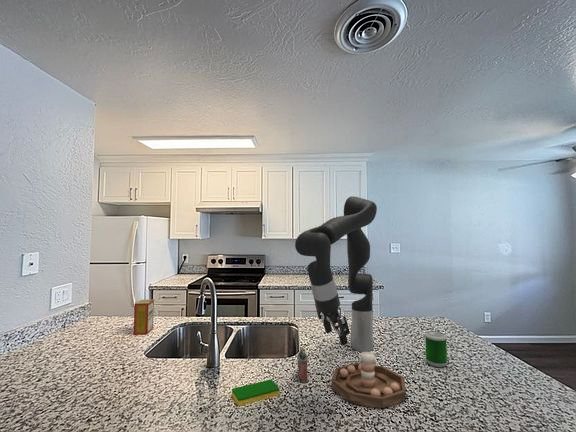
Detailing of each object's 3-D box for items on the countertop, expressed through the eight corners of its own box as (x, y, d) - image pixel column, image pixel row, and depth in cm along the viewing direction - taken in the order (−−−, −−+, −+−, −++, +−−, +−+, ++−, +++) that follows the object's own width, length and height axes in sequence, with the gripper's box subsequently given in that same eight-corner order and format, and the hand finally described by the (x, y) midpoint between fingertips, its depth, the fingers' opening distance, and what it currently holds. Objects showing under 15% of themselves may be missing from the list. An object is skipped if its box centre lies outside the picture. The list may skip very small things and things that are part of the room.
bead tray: (320, 380, 105) (320, 371, 105) (370, 367, 116) (370, 359, 116) (365, 416, 85) (365, 405, 85) (421, 396, 95) (421, 386, 95)
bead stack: (358, 383, 101) (358, 353, 102) (368, 380, 103) (368, 350, 104) (367, 389, 97) (366, 357, 98) (377, 386, 99) (377, 355, 100)
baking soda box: (147, 334, 152) (148, 302, 153) (133, 335, 152) (134, 302, 152) (153, 328, 162) (154, 298, 163) (140, 329, 161) (141, 298, 162)
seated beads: (336, 375, 107) (336, 366, 107) (360, 369, 112) (360, 360, 112) (377, 404, 89) (377, 394, 89) (404, 395, 94) (404, 385, 94)
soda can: (449, 369, 114) (448, 337, 115) (428, 367, 116) (427, 335, 117) (443, 361, 122) (442, 330, 122) (423, 359, 123) (423, 329, 124)
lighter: (296, 372, 111) (296, 345, 112) (305, 372, 111) (305, 344, 112) (299, 383, 103) (299, 353, 103) (309, 383, 103) (309, 353, 104)
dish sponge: (280, 396, 96) (280, 388, 96) (238, 407, 89) (238, 399, 89) (271, 386, 102) (271, 378, 102) (231, 396, 96) (231, 388, 96)
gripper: (348, 295, 88) (360, 342, 91) (322, 281, 101) (333, 323, 104) (328, 307, 85) (340, 355, 89) (303, 291, 98) (315, 333, 101)
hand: (336, 337), depth 96 cm, fingers open, 8 cm apart
